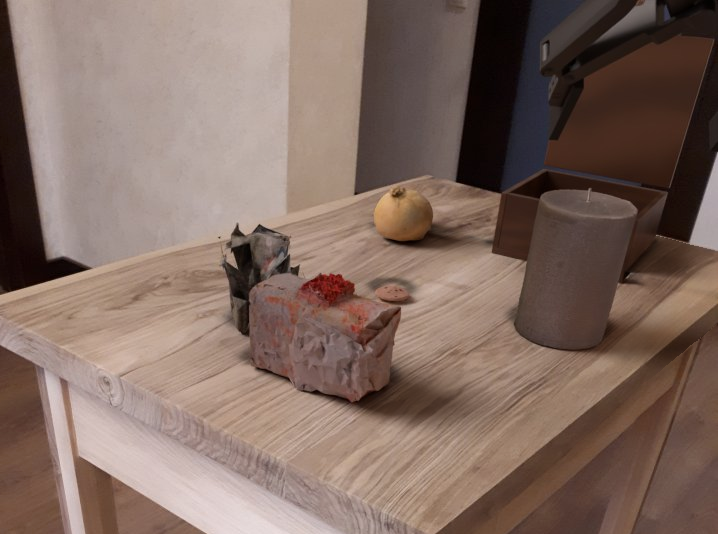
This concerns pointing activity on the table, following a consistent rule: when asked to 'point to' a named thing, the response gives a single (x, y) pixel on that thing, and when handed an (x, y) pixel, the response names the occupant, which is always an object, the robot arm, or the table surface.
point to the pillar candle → (573, 267)
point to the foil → (254, 266)
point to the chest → (525, 196)
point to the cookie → (392, 293)
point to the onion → (403, 215)
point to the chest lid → (635, 114)
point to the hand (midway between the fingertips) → (633, 131)
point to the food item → (322, 334)
